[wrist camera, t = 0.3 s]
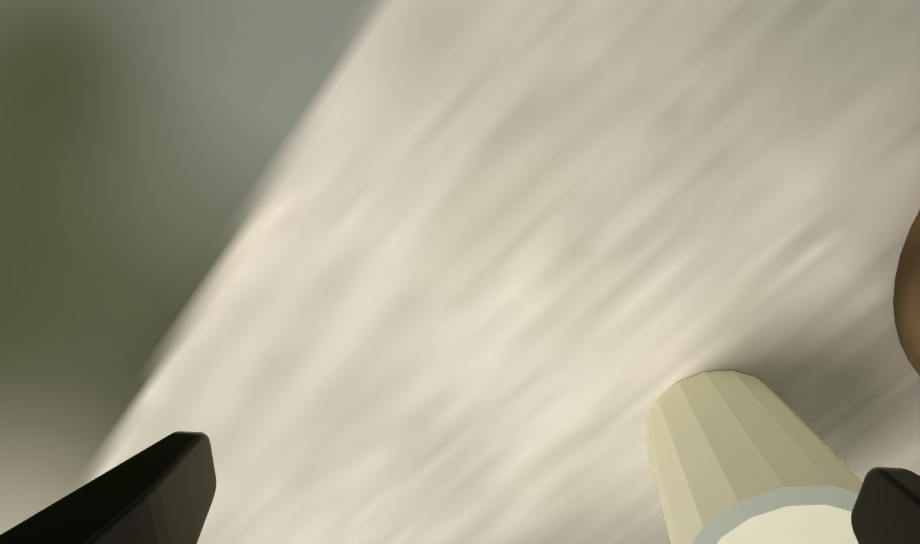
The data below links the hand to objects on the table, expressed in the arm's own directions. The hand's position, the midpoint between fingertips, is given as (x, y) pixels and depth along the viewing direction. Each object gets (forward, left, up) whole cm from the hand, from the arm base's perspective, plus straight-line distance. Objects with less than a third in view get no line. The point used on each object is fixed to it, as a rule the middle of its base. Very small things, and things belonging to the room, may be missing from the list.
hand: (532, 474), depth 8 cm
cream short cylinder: (-12, -8, -14) cm, 20 cm away
